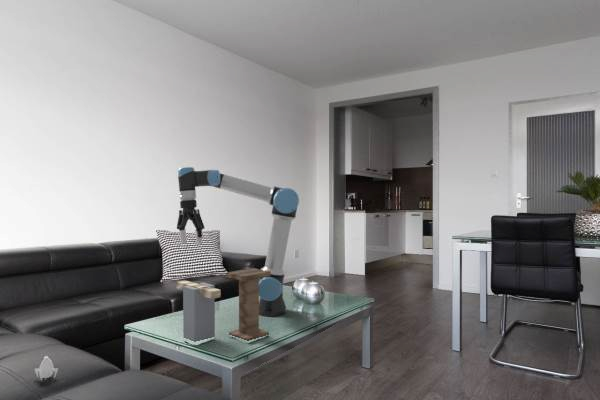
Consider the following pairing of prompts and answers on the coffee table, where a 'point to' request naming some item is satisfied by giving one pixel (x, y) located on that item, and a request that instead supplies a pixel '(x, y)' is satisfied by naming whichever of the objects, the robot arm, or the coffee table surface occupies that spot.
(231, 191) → the robot arm
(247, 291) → the walnut stand
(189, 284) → the birch bar
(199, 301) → the slotted block
